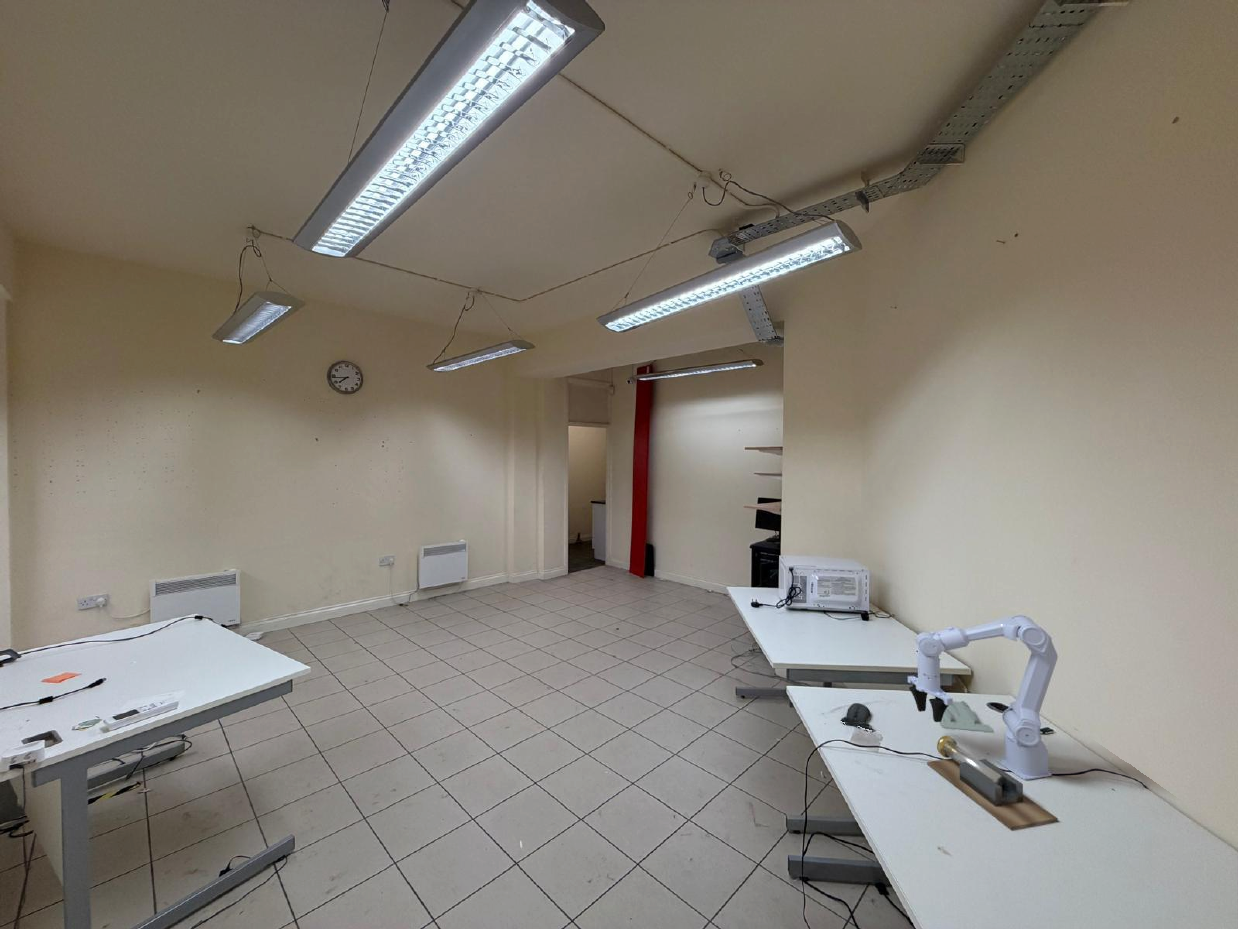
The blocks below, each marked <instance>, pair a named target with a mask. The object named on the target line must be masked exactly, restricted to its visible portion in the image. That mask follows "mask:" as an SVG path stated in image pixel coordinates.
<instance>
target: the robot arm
mask: <svg viewBox="0 0 1238 929" xmlns="http://www.w3.org/2000/svg"><path fill="white" fill-rule="evenodd" d="M946 628H947V629H942V630H938V631H934V630H932V631H930V632H925V631H923V632H920V633H919V634H918V635H917V636H916V638H915V643H916V644H917V646H918V648H917V677H916V676H914V675H907V683H909V684H912V686H911V685H910V686H908V687H909V691H910V692H911V694H912V696H913V699H914V701H915V704H916V707H917V710H918V712H920V713H922V712H926V710H927V698H928V695H930V696H933V698H929V699H928V701H929V704H930V705H931V709H932V710H931V711H932V719H933V721H934V722H935V723H940V722H941V721H943V715H944V712H945V710H946V709H947V707H948V706H949V705H953V702H954V701H953V700H954V698H953V697H951V696H950V695H949V694H947V693H946V692H945V691H944V690H943V688H941V660H940V655H941V654H942V652H947V651H951V650H957V649H961V648H967V647H968V645H969V643H970V642H974V641H979V640H986V639H993V638H998V637H1003V638H1006V639H1008V640H1010V641H1014V642H1018V639H1019V641H1021V643H1023V645H1025V646H1026V648H1028V650H1029V651H1030V652H1031V653H1030V656H1029V659H1028V662H1027V666H1026V669H1025V672H1024V674H1023V678H1022V680H1021V683H1020V686H1019V690H1018V693H1017V695H1016V699H1015V701H1012V702H1010V705H1009V707H1008V708H1006V709H1005V710H1004V711H1003V712H1002V716H1001V717H1002V718H1001V719H1002V721H1003V723H1004V724H1005V725H1006V729H1005V731H1004V748H1005V749H1004V752H1005V753H1004V755H1005V756H1004V758H1002V759H997V760H996V761H997V763H998V764H1000V765H1001V766H1003V767H1005V768H1006V769H1008V770H1009V771H1011V772H1012V773H1014V774H1015V775H1017V776H1018V777H1020V778H1021V779H1023V780H1025V781H1028V780H1033V779H1039V778H1040V779H1041V778H1044V777H1045V778H1046V777H1047V778H1048V777H1052V776H1053V774H1052V773H1051V772H1049V750H1048V749H1047V746H1046V744H1045V743H1044V741H1042V734H1041V727H1042V722H1041V718H1040V711H1041V708H1042V706H1043V703H1044V700H1045V697H1046V693H1047V691H1048V687H1049V685H1050V682H1051V679H1052V676H1053V673H1054V670H1055V667H1056V664H1057V662H1058V657H1059V656H1058V652H1057V650H1056V648H1055V646H1054V643H1053V641H1052V639H1053V638H1052V637H1051V635H1049V633H1048V632H1047V631H1046V630H1045V629H1044V628H1043V627H1041V626H1039V625H1038V624H1037V623H1036V622H1034V620H1032V619H1031V618H1030V617H1029V616H1026V615H1022V614H1017V615H1016V614H1015V615H1013V616H1005V617H1003V618H1000V619H998V620H997V619H996V620H994V621H991V622H987V623H983V624H980V625H977V626H976V625H975V626H972V627H969V628H965V629H963V628H960V627H957V626H955V627H953V626H952V625H950V626H946Z"/></svg>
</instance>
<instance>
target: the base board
mask: <svg viewBox="0 0 1238 929" xmlns="http://www.w3.org/2000/svg"><path fill="white" fill-rule="evenodd" d="M926 765H927V766H928V767H929V768H931V770H933V771H935V773H936V774H938V775H940V776H941V777H942V778H943V779H945V780H947V781H948V782H949V783H950V784H952V785H953V786H954V787H955V788H956V789H958V790H959V791H961V793H962V794H964V795H965V796H967V797H968V798H969V799H971V800H972V801H973V802H975V804H977V805H978V806H979V807H981V809H984V810H985V811H986V812H987V813H988V814H990V815H991V816H992V817H994V818H995V819H996V820H998V821H999V822H1000V823H1001V824H1002V825H1004V826H1005V827H1006V828H1008V829H1009V830H1010V831H1014V830H1019V829H1026V828H1030V827H1034V826H1040V825H1047V824H1052V823H1056V822H1057V823H1058V821H1059V819H1058V817H1056V815H1054V814H1052V813H1051V812H1050V811H1048V810H1046V809H1045V808H1044V807H1042V806H1040V805H1039V804H1037V803H1036V802H1035V801H1034V800H1032V799H1031V798H1029V797H1027V796H1026V795H1025V794H1023V802H1019V803H1013V804H1008V805H1002V806H996V807H995V806H994V805H993V804H991V803H990V802H989V801H987V800H986V799H985V798H983V797H982V796H981V795H980V794H978V793H977V792H976V791H974V790H973V789H972V788H970V787H969V786H968V785H966V784H965V783H964V782H962V781H961V780H960V766H959V763H958V762H956V761H955V760H953V759H952V758H951V757H950V758H943V759H939V760H937V759H936V760H931V761H927V762H926Z"/></svg>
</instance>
